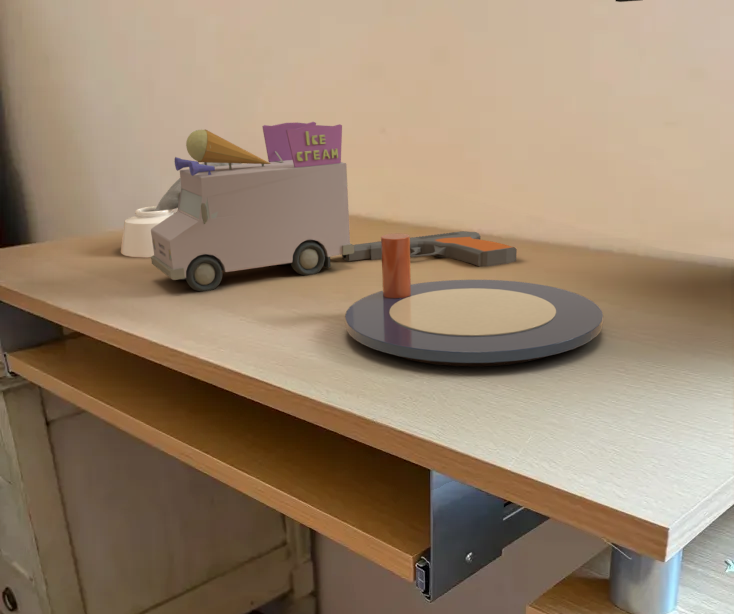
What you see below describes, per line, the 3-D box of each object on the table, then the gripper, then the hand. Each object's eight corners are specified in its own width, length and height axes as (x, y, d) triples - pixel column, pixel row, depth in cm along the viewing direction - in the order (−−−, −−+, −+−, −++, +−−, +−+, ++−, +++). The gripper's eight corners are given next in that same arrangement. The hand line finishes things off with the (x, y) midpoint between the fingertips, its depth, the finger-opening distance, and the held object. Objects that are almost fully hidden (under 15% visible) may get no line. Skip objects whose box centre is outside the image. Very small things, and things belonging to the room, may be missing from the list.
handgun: (384, 282, 82) (341, 260, 93) (521, 263, 88) (466, 244, 98) (384, 265, 82) (340, 244, 92) (521, 246, 87) (466, 229, 97)
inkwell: (108, 251, 102) (95, 168, 98) (235, 230, 112) (228, 153, 108) (140, 263, 95) (128, 173, 91) (272, 239, 105) (266, 157, 102)
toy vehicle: (152, 281, 87) (131, 131, 81) (322, 256, 95) (314, 118, 89) (176, 300, 79) (154, 136, 73) (358, 272, 87) (352, 122, 81)
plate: (499, 384, 53) (502, 295, 50) (293, 327, 66) (287, 255, 63) (650, 313, 66) (657, 240, 63) (452, 277, 79) (452, 215, 76)
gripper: (632, -313, 68) (611, 6, 77) (583, -376, 58) (565, 0, 67) (731, -338, 64) (696, 0, 73) (696, -410, 54) (661, -7, 63)
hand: (633, 0), depth 70 cm, fingers closed
